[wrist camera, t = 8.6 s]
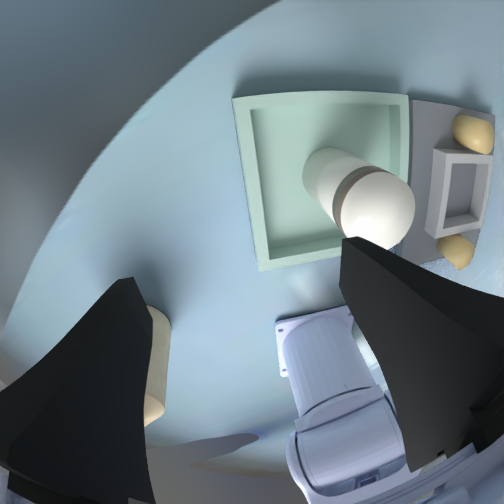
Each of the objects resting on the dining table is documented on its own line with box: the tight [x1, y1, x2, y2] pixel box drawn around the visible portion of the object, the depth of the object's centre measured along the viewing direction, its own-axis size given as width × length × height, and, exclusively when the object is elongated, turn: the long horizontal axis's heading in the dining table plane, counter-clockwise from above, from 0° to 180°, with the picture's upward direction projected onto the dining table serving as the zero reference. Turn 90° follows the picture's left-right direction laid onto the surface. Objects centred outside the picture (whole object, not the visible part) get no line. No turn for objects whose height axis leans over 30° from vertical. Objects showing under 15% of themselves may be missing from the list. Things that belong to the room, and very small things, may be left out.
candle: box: [144, 305, 171, 427], centre depth 19 cm, size 6×6×10 cm
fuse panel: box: [395, 99, 495, 270], centre depth 18 cm, size 15×12×4 cm
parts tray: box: [231, 91, 409, 272], centre depth 17 cm, size 12×12×2 cm
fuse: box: [302, 147, 415, 250], centre depth 15 cm, size 4×4×7 cm
